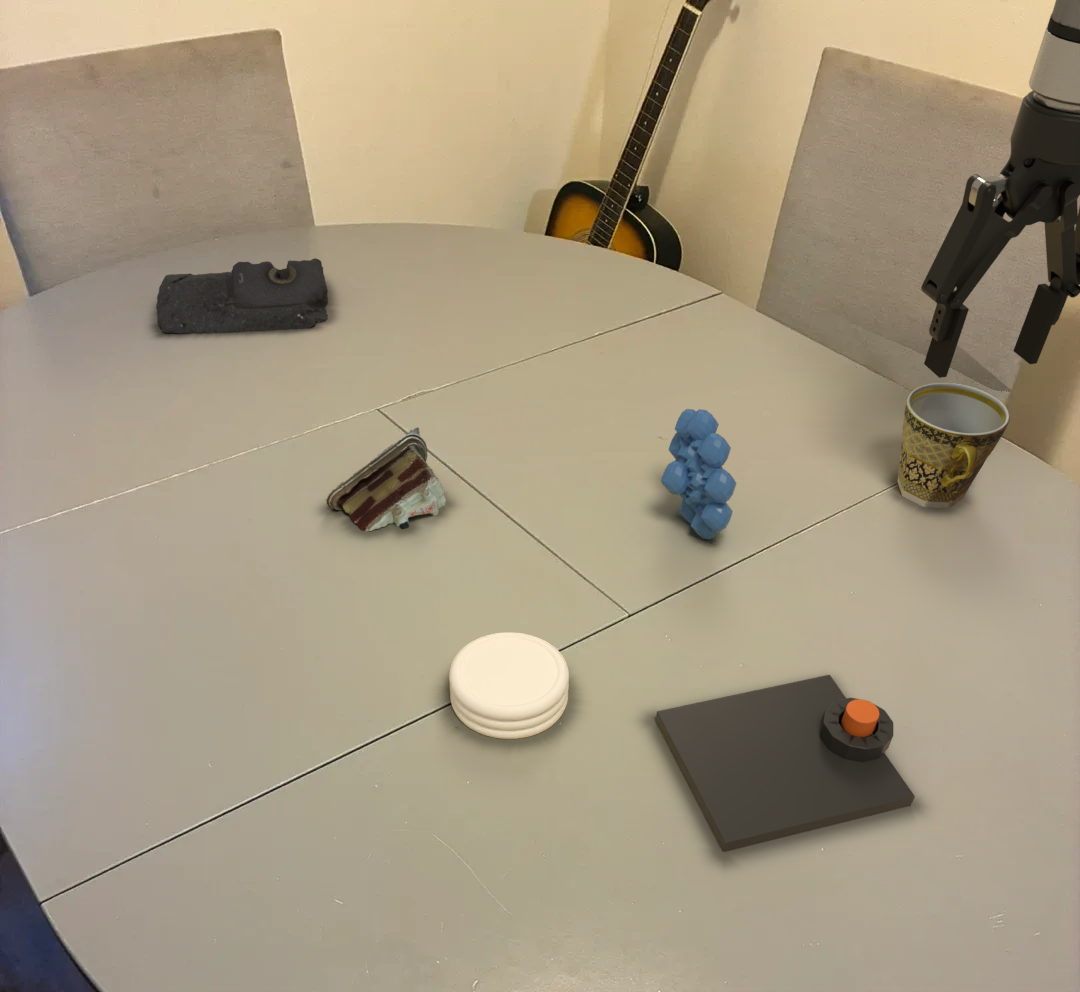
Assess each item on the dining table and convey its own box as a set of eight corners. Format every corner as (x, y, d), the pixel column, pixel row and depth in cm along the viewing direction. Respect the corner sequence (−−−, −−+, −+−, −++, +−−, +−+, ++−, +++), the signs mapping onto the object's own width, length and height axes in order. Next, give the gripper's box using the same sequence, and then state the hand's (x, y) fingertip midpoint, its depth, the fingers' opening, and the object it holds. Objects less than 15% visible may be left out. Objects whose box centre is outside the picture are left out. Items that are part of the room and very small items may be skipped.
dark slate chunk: (164, 285, 140) (155, 250, 136) (328, 277, 143) (324, 242, 139) (154, 339, 130) (144, 302, 126) (330, 329, 132) (325, 292, 129)
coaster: (440, 734, 85) (437, 705, 82) (462, 652, 92) (461, 623, 89) (560, 748, 84) (561, 719, 82) (574, 665, 91) (575, 635, 88)
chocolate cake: (353, 553, 102) (433, 466, 98) (318, 503, 104) (395, 415, 100) (408, 569, 110) (484, 489, 106) (374, 522, 112) (447, 442, 108)
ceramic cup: (873, 464, 114) (898, 380, 106) (964, 467, 113) (995, 384, 106) (896, 535, 105) (925, 449, 97) (995, 539, 105) (1031, 453, 97)
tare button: (863, 711, 84) (869, 696, 83) (880, 733, 82) (885, 718, 81) (835, 717, 84) (840, 702, 82) (851, 740, 82) (856, 725, 81)
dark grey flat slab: (839, 682, 90) (847, 658, 88) (924, 804, 81) (935, 779, 79) (654, 722, 86) (658, 697, 84) (722, 854, 77) (728, 830, 75)
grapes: (632, 498, 108) (643, 394, 100) (691, 487, 110) (707, 384, 101) (677, 564, 101) (693, 458, 92) (739, 552, 102) (761, 446, 94)
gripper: (1157, 74, 86) (1054, 331, 102) (928, 92, 81) (858, 359, 98) (1222, 102, 81) (1102, 368, 98) (982, 123, 77) (899, 398, 93)
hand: (980, 363), depth 98 cm, fingers open, 9 cm apart
